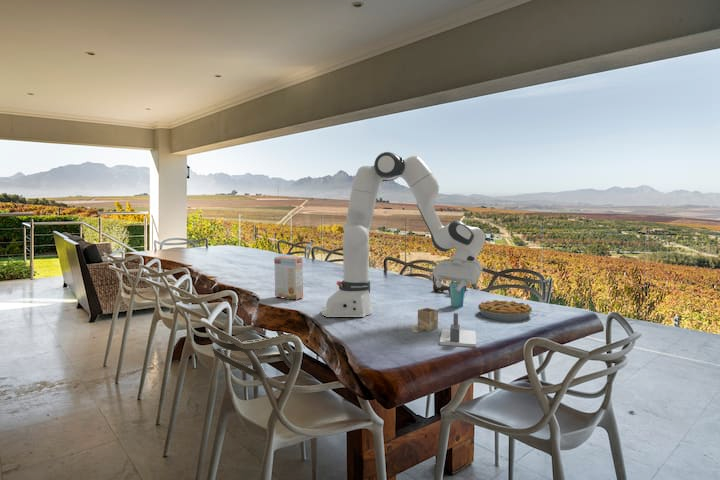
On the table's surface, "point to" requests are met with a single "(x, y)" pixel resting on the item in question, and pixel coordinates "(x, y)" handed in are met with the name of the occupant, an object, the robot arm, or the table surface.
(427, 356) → the table surface
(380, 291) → the table surface
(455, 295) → the cup
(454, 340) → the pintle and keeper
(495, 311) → the pie
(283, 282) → the cracker box
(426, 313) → the wooden pencil holder
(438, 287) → the kendama
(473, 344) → the base plate
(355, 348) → the table surface
